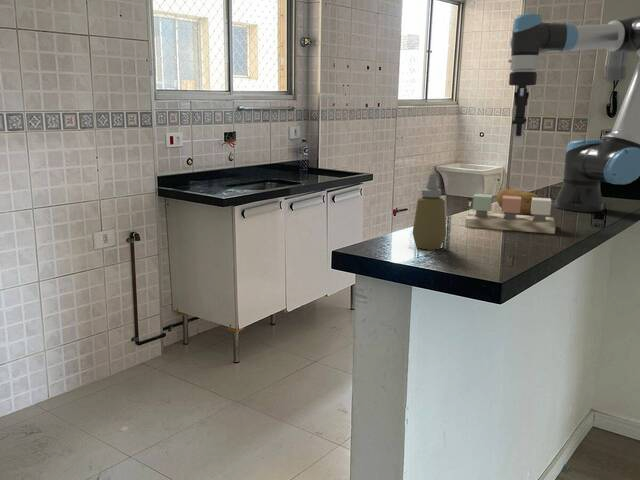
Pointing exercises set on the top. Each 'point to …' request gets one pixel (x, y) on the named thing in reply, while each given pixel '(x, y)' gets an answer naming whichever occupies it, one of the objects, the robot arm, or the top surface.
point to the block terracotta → (511, 206)
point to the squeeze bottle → (430, 217)
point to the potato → (525, 196)
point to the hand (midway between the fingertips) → (517, 145)
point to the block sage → (482, 204)
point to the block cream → (540, 208)
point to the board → (510, 223)
